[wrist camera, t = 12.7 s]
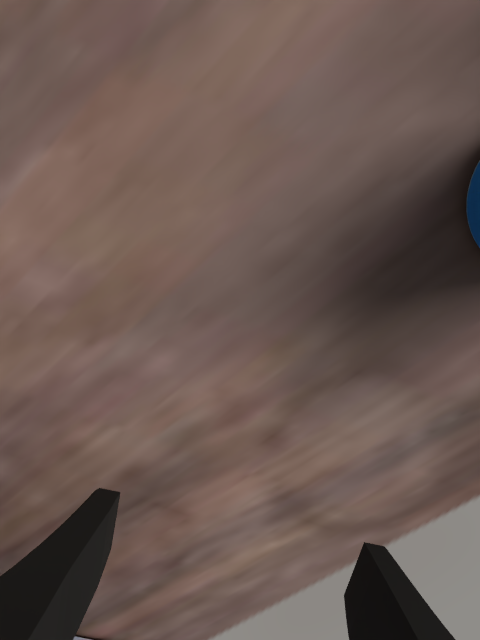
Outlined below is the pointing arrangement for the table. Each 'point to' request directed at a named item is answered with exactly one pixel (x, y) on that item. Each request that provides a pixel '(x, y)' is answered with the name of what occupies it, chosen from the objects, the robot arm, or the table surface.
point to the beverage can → (474, 205)
